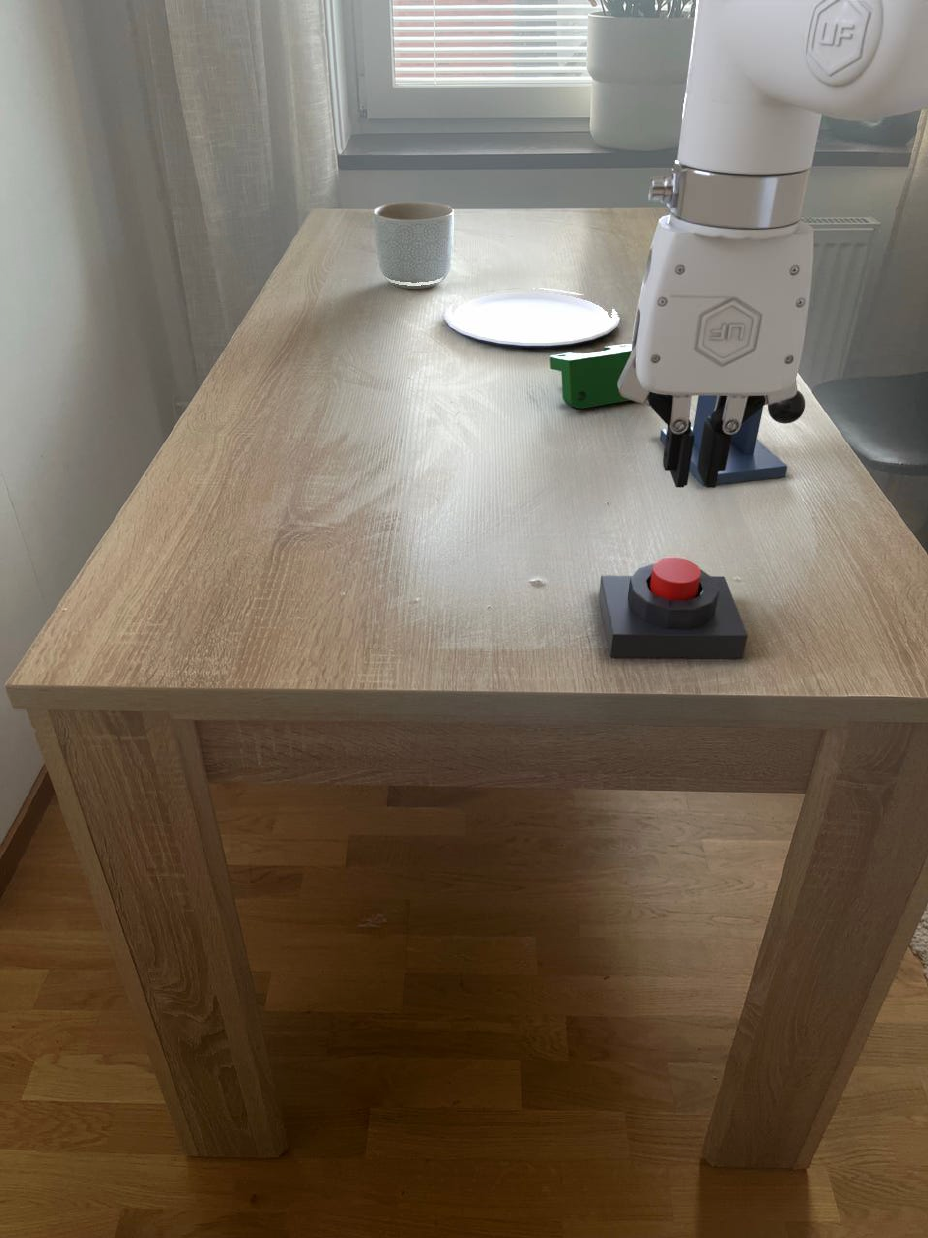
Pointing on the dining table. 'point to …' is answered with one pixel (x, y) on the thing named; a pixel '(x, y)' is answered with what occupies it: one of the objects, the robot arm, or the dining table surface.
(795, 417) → the lever
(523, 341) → the plate
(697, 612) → the button box
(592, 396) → the green mounting block
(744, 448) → the bracket
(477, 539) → the dining table surface
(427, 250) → the planter
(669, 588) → the button
